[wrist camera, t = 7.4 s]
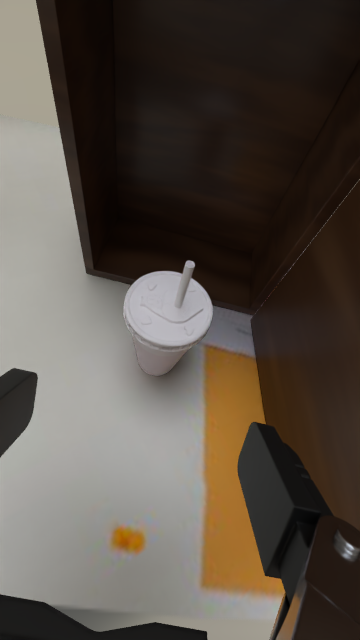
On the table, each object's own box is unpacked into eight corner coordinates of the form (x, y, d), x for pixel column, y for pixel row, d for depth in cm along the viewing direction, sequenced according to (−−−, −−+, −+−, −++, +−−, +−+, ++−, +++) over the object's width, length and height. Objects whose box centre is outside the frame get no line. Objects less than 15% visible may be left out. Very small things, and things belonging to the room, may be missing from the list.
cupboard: (254, 315, 32) (576, -98, 9) (86, 273, 31) (-24, -316, 8) (256, 255, 37) (464, -102, 14) (112, 217, 36) (92, -234, 13)
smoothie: (186, 392, 26) (238, 318, 14) (118, 385, 25) (112, 301, 13) (188, 333, 29) (232, 233, 17) (129, 325, 29) (131, 215, 17)
